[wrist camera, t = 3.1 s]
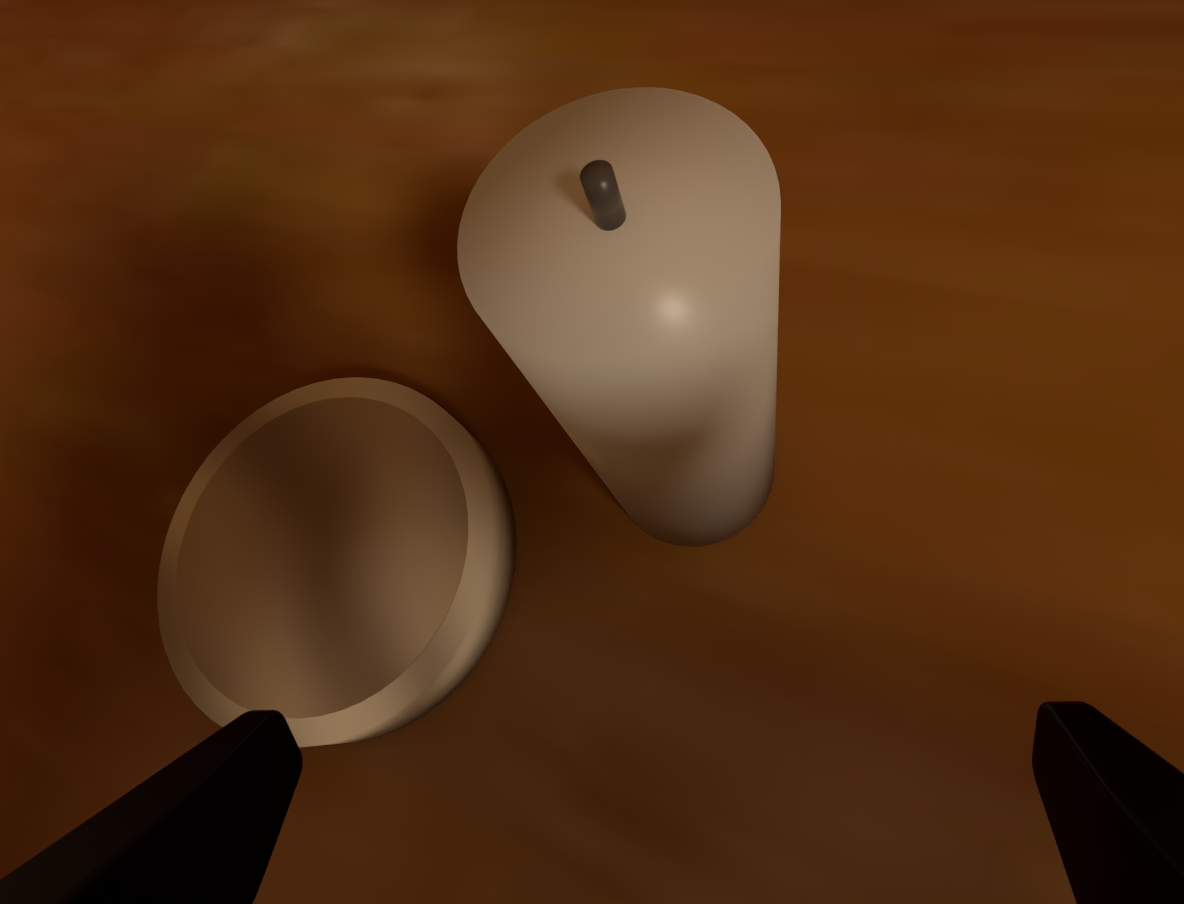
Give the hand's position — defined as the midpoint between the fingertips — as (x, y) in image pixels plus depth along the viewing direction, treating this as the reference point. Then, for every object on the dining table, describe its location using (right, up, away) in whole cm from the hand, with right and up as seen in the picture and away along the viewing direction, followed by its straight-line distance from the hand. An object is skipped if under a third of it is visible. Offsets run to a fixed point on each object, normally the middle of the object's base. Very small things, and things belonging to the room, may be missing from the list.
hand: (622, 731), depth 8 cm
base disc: (-9, 0, +16) cm, 19 cm away
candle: (+3, +3, +15) cm, 15 cm away
